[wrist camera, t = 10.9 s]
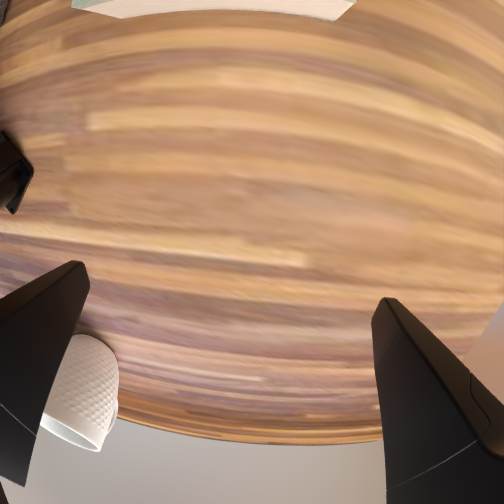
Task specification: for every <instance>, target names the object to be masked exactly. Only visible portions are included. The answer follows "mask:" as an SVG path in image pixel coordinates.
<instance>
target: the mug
mask: <svg viewBox="0 0 504 504" xmlns="http://www.w3.org/2000/svg"><path fill="white" fill-rule="evenodd" d="M118 383H119V372H118V364H117V360H116V357H115V355H114V353H113V352H112V351H111V349H110V348H109V347H108V346H106V345H105V344H104V343H103V342H101V341H100V340H98V339H96V338H94V337H92V336H89V335H85V334H77V335H74V336H72V338H71V340H70V342H69V345H68V347H67V350H66V352H65V354H64V357H63V359H62V362H61V364H60V367H59V369H58V372H57V375H56V377H55V380H54V383H53V386H52V388H51V391H50V394H49V397H48V400H47V403H46V406H45V409H44V412H43V415H42V419H41V422H40V425H41V426H43V427H44V428H46V429H47V430H49V431H50V432H52V433H53V434H55V435H57V436H59V437H60V438H62V439H64V440H66V441H68V442H70V443H72V444H74V445H77V446H79V447H81V448H84V449H87V450H91V451H96V452H97V451H100V450H101V447H102V444H103V442H104V439H105V436H106V435H107V434H108V432H109V431H110V430H111V428H112V427H113V425H114V422H115V420H116V417H117V412H118V400H117V395H118Z"/></svg>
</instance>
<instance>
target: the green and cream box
mask: <svg viewBox="0 0 504 504" xmlns="http://www.w3.org/2000/svg"><path fill="white" fill-rule="evenodd" d="M356 1H357V0H72V5H71V7H72V8H77V9H82V10H87V11H92V12H96V13H100V14H104V15H108V16H112V17H116V18H119V19H126V18H131V17H137V16H143V15H150V14H158V13H167V12H178V11H192V10H251V11H266V12H277V13H286V14H293V15H300V16H307V17H313V18H318V19H324V20H329V21H334V22H335V21H336V20H337V19H338V18H339V17H340V16H341V15H342V14H343V13H344V12H345V11H346V10H347V9H349V8H350V7H351V6H352V5H353V4H354V3H355V2H356Z"/></svg>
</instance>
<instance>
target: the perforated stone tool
mask: <svg viewBox="0 0 504 504" xmlns="http://www.w3.org/2000/svg"><path fill="white" fill-rule="evenodd" d="M8 2H9V0H0V26H1V23H2V21H3V19H4V12H5V9H6V8H7V4H8Z"/></svg>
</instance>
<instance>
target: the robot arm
mask: <svg viewBox="0 0 504 504" xmlns="http://www.w3.org/2000/svg"><path fill="white" fill-rule="evenodd" d="M28 172H29V173H28ZM32 177H33V170H32V168H31V167H30V166H29V164H28V163H27V162H26V161H25V159H24V158H23V157H22V156H21V154H20V153H19V152H18V150H17V149H16V148H15V146H14V145H13V144H12V143H11V141H10V140H9V138H8V137H7V136H6V134H5V133H4V132H3V131H0V210H1V209H2V208H4V207H6V208H7V209H8V210H9V212H10V213H11V214H15V213H16V212H17V210H18V207H19V205H20V203H21V200H22V198H23V196H24V193H25V191H26V189H27V187H28V185H29V183H30V181H31V179H32ZM89 289H90V281H89V278H88V274H87V271H86V267H85V264H84V263H83V262H81V261H76V260H71V261H69V262H67V263H65V264H63V265H61V266H59V267H57V268H56V269H54V270H52V271H50V272H48V273H46V274H44V275H42V276H40V277H39V278H37V279H35V280H33V281H31V282H29V283H28V284H26V285H24V286H22V287H20V288H19V289H17V290H15V291H13V292H12V293H10V294H8V295H6V296H5V297H3V298H1V299H0V476H2V477H4V478H6V479H8V480H10V481H12V482H14V483H16V484H18V485H20V486H22V487H25V484H26V478H27V474H28V469H29V464H30V460H31V456H32V451H33V447H34V444H35V440H36V435H37V432H38V429H39V425H40V422H41V419H42V415H43V412H44V409H45V406H46V403H47V400H48V397H49V394H50V391H51V388H52V386H53V383H54V380H55V377H56V375H57V372H58V369H59V367H60V364H61V362H62V359H63V357H64V354H65V352H66V350H67V347H68V345H69V342H70V340H71V338H72V336H73V333H74V331H75V328H76V326H77V323H78V320H79V317H80V314H81V311H82V308H83V306H84V303H85V300H86V297H87V295H88V292H89ZM371 326H372V339H373V354H374V369H375V376H376V383H377V389H378V397H379V404H380V412H381V421H382V430H383V441H384V453H385V468H386V490H387V491H386V499H387V504H504V405H503V404H502V403H501V402H500V401H499V400H498V399H497V398H496V397H495V396H494V395H493V394H492V393H491V392H490V391H489V390H488V389H487V388H486V387H485V386H484V385H483V384H482V383H481V382H480V381H479V380H478V379H477V378H476V377H475V376H474V375H473V374H472V373H470V370H469V369H468V368H467V367H466V366H464V364H463V363H462V362H461V361H460V360H459V359H458V358H457V357H456V356H455V355H454V354H453V353H452V352H451V351H450V350H449V349H448V348H447V347H446V346H445V345H444V344H443V343H442V342H441V341H440V340H439V339H438V338H437V337H436V336H435V335H434V334H433V333H432V332H431V331H430V330H429V329H428V328H427V327H426V326H425V325H424V324H423V323H421V322H420V321H419V320H418V319H417V318H416V317H415V316H414V315H413V314H412V313H411V312H410V311H409V310H408V309H407V308H406V307H404V306H403V305H402V304H401V303H400V302H399V301H398V300H397V299H395V298H389V297H384V298H382V299H381V300H380V302H379V304H378V306H377V308H376V311H375V313H374V315H373V317H372V321H371ZM0 504H9V503H8V501H7V498H6V496H5V493H4V490H3V488H2V485H1V482H0Z"/></svg>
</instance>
